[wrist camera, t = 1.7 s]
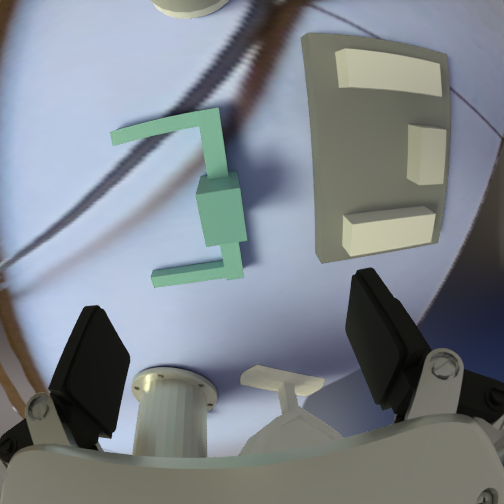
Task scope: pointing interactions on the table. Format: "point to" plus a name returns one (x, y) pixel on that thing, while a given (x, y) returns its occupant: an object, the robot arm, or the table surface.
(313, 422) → the heart sculpture
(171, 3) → the white bottle
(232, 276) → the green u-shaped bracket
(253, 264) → the table surface
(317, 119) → the stand
